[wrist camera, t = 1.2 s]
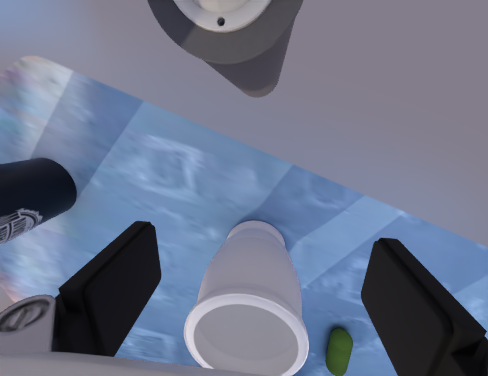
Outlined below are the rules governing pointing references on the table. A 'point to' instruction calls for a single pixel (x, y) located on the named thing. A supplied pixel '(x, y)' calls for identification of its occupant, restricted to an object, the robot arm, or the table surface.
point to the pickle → (339, 352)
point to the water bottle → (32, 195)
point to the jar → (249, 307)
